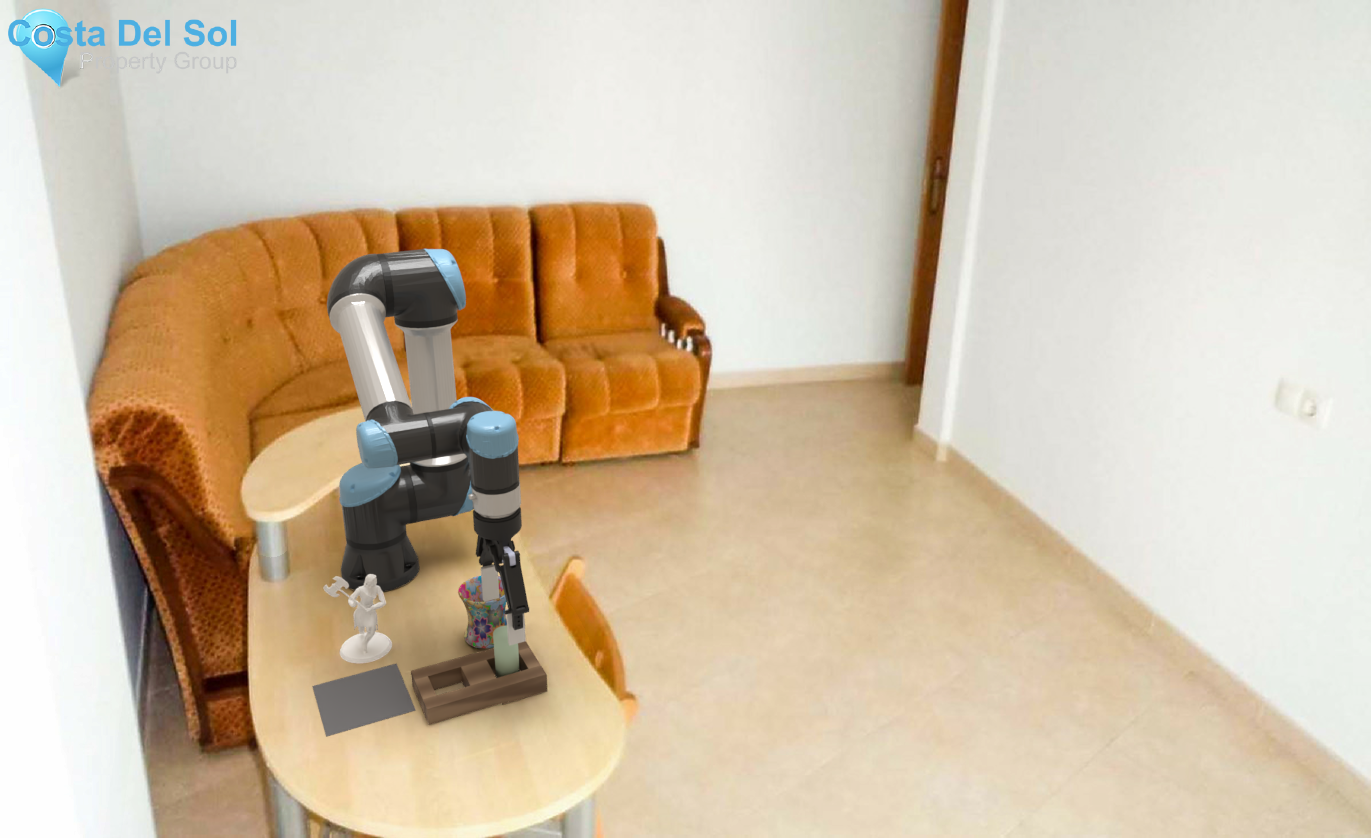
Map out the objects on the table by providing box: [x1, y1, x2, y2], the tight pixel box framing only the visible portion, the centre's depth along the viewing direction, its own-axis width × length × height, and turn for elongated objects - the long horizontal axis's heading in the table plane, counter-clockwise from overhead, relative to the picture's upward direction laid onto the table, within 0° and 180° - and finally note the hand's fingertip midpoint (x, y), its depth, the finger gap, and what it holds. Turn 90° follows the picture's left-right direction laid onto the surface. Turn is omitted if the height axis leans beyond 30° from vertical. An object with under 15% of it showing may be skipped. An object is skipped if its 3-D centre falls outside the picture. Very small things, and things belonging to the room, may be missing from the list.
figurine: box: [323, 574, 393, 664], centre depth 174 cm, size 10×10×18 cm
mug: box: [457, 575, 507, 650], centre depth 180 cm, size 12×9×11 cm
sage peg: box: [493, 626, 521, 678], centre depth 167 cm, size 4×4×10 cm
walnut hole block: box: [410, 641, 548, 726], centre depth 166 cm, size 11×20×4 cm, turn 118°
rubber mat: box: [312, 662, 417, 737], centre depth 164 cm, size 14×14×1 cm
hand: (503, 620), depth 165 cm, fingers open, 13 cm apart
